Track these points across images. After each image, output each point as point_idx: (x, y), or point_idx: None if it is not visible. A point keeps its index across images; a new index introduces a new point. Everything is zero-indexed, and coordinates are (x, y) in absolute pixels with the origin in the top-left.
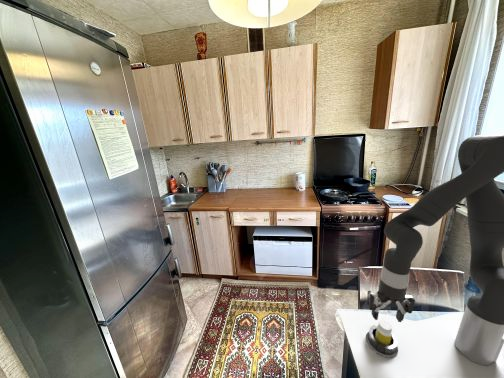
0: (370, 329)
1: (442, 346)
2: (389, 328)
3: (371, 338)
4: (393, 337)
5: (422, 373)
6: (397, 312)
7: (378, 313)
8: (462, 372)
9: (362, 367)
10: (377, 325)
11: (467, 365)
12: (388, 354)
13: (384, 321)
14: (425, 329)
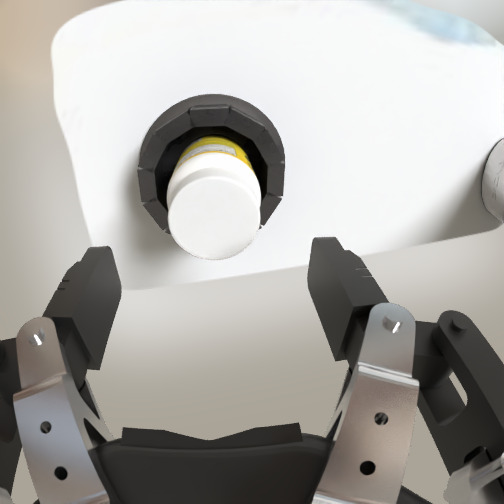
0: (152, 145)
1: (455, 159)
2: (231, 248)
3: (144, 200)
4: (272, 178)
5: None
6: (336, 288)
7: (102, 355)
8: (437, 239)
9: None
10: (174, 175)
11: (464, 217)
12: None
13: (219, 189)
14: (452, 87)
